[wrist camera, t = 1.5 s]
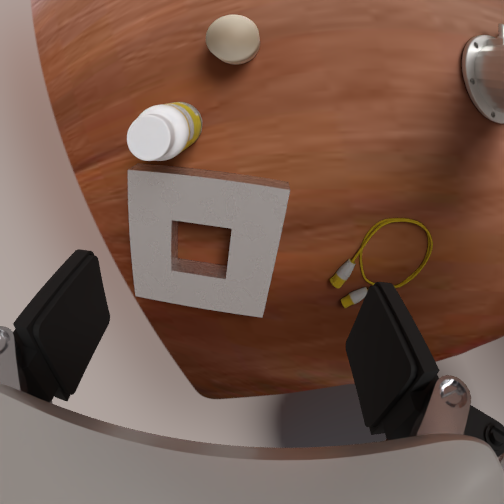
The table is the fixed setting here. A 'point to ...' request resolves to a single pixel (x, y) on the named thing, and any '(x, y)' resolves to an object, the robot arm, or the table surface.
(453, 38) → the table surface
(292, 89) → the table surface
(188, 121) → the supplement bottle
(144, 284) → the hole plate
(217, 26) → the short stub
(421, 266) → the extension cord
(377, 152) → the table surface
